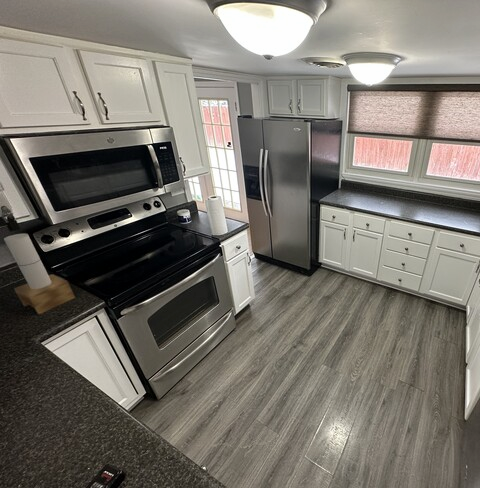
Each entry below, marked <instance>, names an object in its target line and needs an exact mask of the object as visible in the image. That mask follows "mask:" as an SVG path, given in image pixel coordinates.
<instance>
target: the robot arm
mask: <svg viewBox="0 0 480 488" xmlns="http://www.w3.org/2000/svg"><path fill="white" fill-rule="evenodd" d="M4 192H5V187H4V185H3V183H2V182H1V180H0V228H4V227H6V228H7V230H8V231H9V232H10V233H12V232H15V231H19V230H21V226H20V225H19V223H18V221H17V219H16V217H15V216H14V214H15V213H14V211H13V209H12V206H11V205H10V203H9V200H8V199H7V197H6V196H5V194H4Z"/></svg>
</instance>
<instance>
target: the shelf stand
mask: <svg viewBox="0 0 480 488" xmlns="http://www.w3.org/2000/svg"><path fill="white" fill-rule="evenodd" d="M48 276H49V278H50V280H51V282H52V283H51V284H50V285H48V286H46V287H43V288H39V289H31V288H30V286H29V284H28V283H27V282H26V283H25V284H22V285H20V286H17V287H14V288H13V290H14V292H15V294H16V295H17V296H18V297H17V298H18V299H19V300H20V302H21V304H22V305H23V306H24V307H27V306H31V307H32V308H34V310H35V312H36V314H38V315H41V314H44V313H45V312H48V311H49V310H53V309H54V308H57V307H58V306H61V305H62V304H65V303H68V302H69V301H71V300H73V299H76V296H75V294H74V292H73V289H72V288H71V286H70V283H69V280H66V279H64V278H61V277H60V276H57V275H55V274H53V273H52V274H48Z"/></svg>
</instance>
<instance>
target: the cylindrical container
mask: <svg viewBox="0 0 480 488" xmlns="http://www.w3.org/2000/svg"><path fill="white" fill-rule="evenodd" d="M3 240H4V242H5V244H6V247H7V248H8V249H9V251H10V254H11V255H12V257H13V259H14V261H15V262H16V264H17V266H18V268H19V269H20V272H21V274H22V275H23V277H24V279H25V281H26V284H27V283H28V284H29V286H30V288H31V289H39V288H43V287H46V286H48V285H50V284H51V283H52V282H51V280H50V278H49V274H48V272H47V269H46V267H45V266H44V264H43V262H42V260H41V257H40V255H39V254H38V252H37V250H36V248H35V245H34V244H33V241H32V239H31V238H30V236H29V234H28V233H16V234H13V235H11V234H10V235H8V236H6V237H4V238H3Z"/></svg>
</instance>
